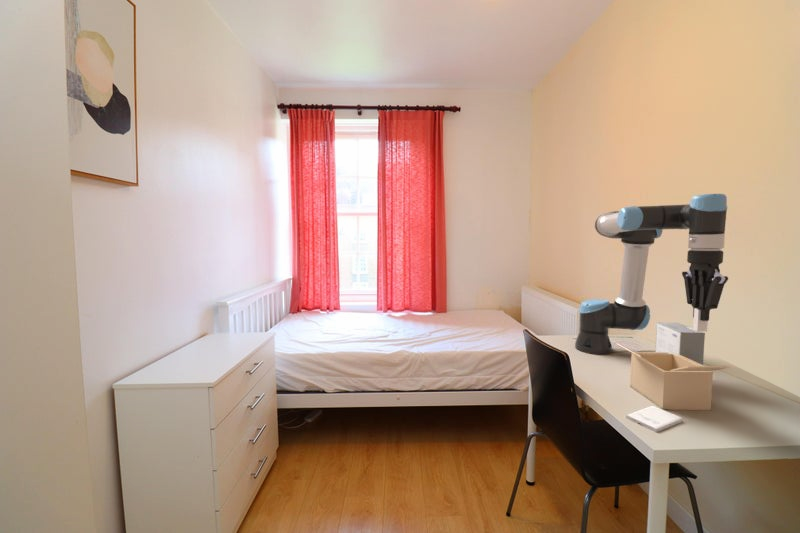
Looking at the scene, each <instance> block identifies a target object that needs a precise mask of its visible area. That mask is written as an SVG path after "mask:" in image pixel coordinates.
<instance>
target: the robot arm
mask: <svg viewBox="0 0 800 533" xmlns="http://www.w3.org/2000/svg"><path fill="white" fill-rule="evenodd" d="M727 201H728V200H727V195H726V194H725V193H708V194H707V193H706V194H697V195H693V196H692V197H691V199H690V203H689V204H667V205H666V204H665V205H645V206H643V205H642V206H641V205H640V206H637V205H636V206H635V205H634V206H633V205H631V206H624V207H622V208H620V210H618V211H617V210H615V211H608V212H605V213H603V214H601V215H599V216H598V217H597V219H596V220H595V222H594V229H595V230H596V232H597V234H599V235H600V236H602V237H605V238H609V239H621V240H620V242H621V243H622V244H623V245H624V249H623V259H622V266H621V268H622V269H621V274H620V275H621V276H620V284H619V285H620V286H619V292H618V293H619V295H618V296H616V297H615V298H614V302H613V303H612V302H610V300H607V299H599V298H597V299H596V298H595V299H587V300H584V301H582V302H580V307H579V332H578V334H577V337H576V339H575V342H574V343H575V344H574V347H575V349H576V350H578V351H581V352H583V353H587V354H593V355H608V354H611V353H612V352H613V345H612V342H611V339H610V337H609V329H615V330H630V331H634V330H638V331H639V330H641V331H642V330H643V329H645V328H646V327H647V326H649V325H648V324H649V323H650V320H651V310H650V307H649V306H648V304H646V303H647V302H646V301H645V300H644V299H643V296H644V289H645V288H644V286H645V279H646V271H647V267H648V266H647V264H648V257H649V250H650V247H651V246H652V245H654V244H655V239H658V238H660V237H661V236H662V234H663V230H688V245H687V246H688V249H689V250H688V251H687V259H686V260H687V261H686V262H687V263H688V264H690V266H688V270H687V271H682V272H681V275H682V277H683V279H684V280H683V281H684V286H685V287H684V288H685V296H686V303H687V304H688V305H691V307H692V308H693V309H692V310H693V311H692V319H693V324H692V328H693V330H694V331H701V332H708V324H709V322H708V321H709V320H710V312H711V310H713V309H714V310H715V309H718V306H719V304H720V300H721V297H722V293H723V291H724V287H725V284H726V283H727V282H728V280H729V277H728V276H727V275H722V274H721V269H720V265H721V264H723V262H724V251H723V250H722V249H724V248H725V238H726V236H725V235H726V233H725V232H726V224H727V223H726V222H727V221H726V220H727V211H728V204H727Z"/></svg>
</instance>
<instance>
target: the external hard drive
mask: <svg viewBox="0 0 800 533" xmlns="http://www.w3.org/2000/svg"><path fill="white" fill-rule="evenodd" d="M625 419H627V420H630V421H632V422H633V423H636V424H637V425H638V424H639V425H641V426H643V427H644V428H647V429H648V430H651V431H653V432H654V433H657V432H660V431H662V430H665V429H667V428H670V427H672V426H675V425H677V424H680V423H682V422H683V419H684V418H682V417H681V416H678V415H677V414H673V413H671V412H669V411H667V410H665V409H661V408H660V407H658V406H656V405H655V406H654V405H651V406H648V407H645V408H642V409H640V410H639V409H638V410H637V411H635V412H631V413H629V414H626V415H625Z"/></svg>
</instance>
